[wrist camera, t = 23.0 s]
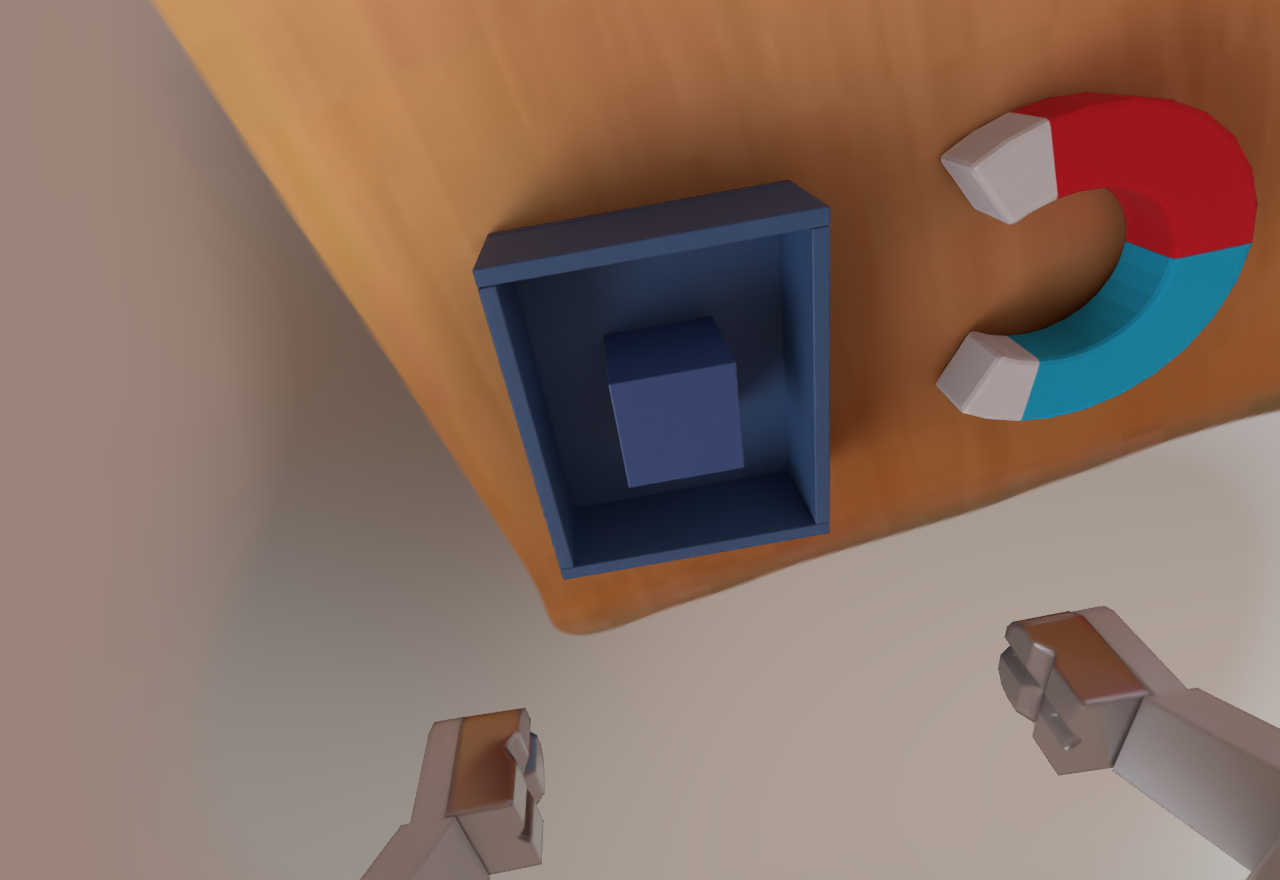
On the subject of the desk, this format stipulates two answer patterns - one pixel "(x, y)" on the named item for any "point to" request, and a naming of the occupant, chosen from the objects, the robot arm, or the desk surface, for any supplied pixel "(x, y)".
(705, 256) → the blue bin
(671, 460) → the blue block
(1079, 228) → the desk surface
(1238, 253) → the magnet
